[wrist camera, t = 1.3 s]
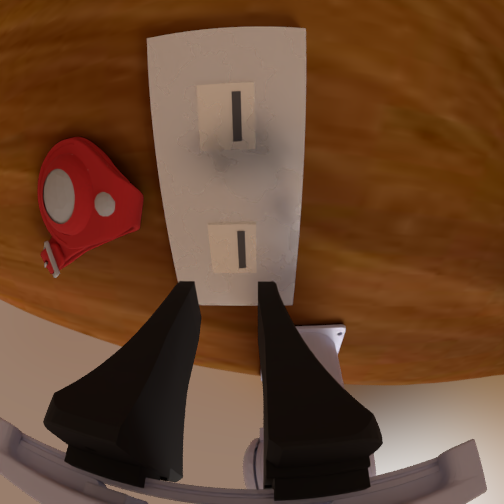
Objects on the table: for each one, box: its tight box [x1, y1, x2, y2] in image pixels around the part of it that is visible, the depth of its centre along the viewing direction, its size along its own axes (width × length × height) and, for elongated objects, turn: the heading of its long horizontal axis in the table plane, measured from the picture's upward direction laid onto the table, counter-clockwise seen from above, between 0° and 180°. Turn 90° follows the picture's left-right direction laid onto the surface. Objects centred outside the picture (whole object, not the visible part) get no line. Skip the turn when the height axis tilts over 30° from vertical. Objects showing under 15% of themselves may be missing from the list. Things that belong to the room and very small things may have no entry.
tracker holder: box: [38, 137, 144, 278], centre depth 18 cm, size 12×4×10 cm
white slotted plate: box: [147, 27, 306, 306], centre depth 18 cm, size 20×9×1 cm, turn 1°
